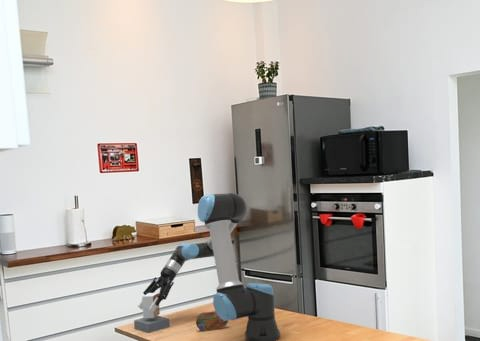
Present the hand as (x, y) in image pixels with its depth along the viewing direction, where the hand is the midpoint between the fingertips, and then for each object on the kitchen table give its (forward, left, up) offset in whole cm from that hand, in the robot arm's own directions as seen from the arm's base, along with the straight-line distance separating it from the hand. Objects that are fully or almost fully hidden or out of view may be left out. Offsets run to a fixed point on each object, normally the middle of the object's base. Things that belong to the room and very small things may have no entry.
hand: (145, 309), depth 231 cm
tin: (-27, -18, -10) cm, 34 cm away
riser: (0, -3, -10) cm, 10 cm away
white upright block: (0, -3, -4) cm, 5 cm away
